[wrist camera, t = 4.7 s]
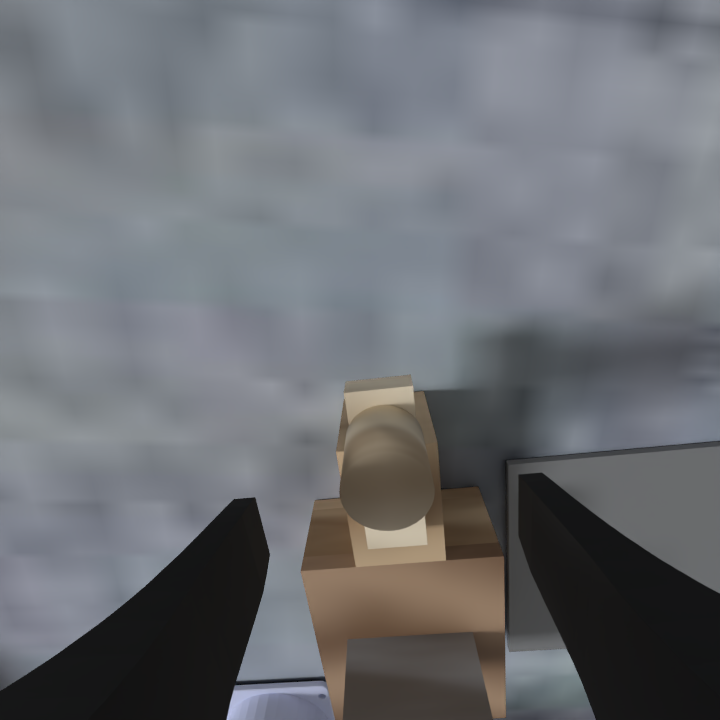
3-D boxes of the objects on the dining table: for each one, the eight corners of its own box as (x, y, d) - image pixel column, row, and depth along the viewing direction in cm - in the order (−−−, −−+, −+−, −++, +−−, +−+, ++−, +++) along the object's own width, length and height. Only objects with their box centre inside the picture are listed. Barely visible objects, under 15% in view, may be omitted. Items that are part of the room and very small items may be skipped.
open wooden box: (483, 630, 26) (505, 717, 22) (342, 639, 27) (336, 725, 23) (474, 385, 21) (502, 436, 16) (295, 404, 21) (274, 457, 17)
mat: (704, 634, 26) (709, 640, 26) (507, 645, 27) (509, 651, 27) (747, 438, 21) (753, 443, 21) (506, 460, 22) (508, 464, 22)
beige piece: (429, 526, 18) (444, 613, 14) (363, 531, 18) (360, 618, 14) (416, 374, 15) (429, 429, 12) (340, 382, 16) (329, 439, 12)
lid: (496, 681, 24) (532, 822, 18) (338, 689, 24) (328, 829, 19) (492, 526, 20) (537, 647, 14) (306, 541, 21) (282, 662, 15)
